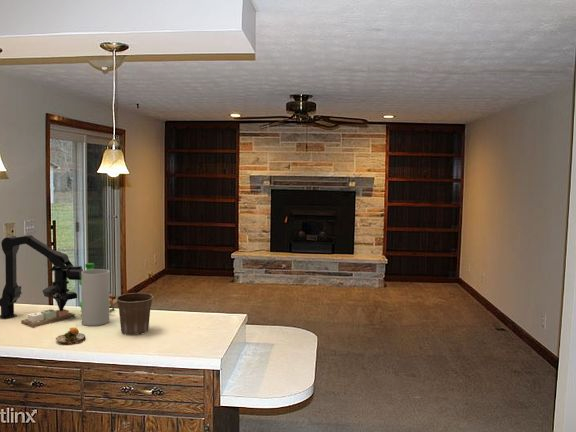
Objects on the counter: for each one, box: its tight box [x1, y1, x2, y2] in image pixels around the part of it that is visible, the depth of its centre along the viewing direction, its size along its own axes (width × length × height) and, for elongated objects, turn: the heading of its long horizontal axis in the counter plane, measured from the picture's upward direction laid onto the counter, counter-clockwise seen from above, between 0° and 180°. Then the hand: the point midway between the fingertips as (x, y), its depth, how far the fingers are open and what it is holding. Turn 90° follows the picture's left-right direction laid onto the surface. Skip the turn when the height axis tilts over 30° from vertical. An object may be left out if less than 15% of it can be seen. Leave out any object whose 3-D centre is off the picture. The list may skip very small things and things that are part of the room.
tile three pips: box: [55, 308, 70, 317], centre depth 247 cm, size 5×5×3 cm
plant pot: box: [115, 292, 154, 336], centre depth 229 cm, size 16×16×16 cm
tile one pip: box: [27, 311, 44, 323], centre depth 236 cm, size 5×5×3 cm
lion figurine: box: [109, 297, 115, 311], centre depth 258 cm, size 15×5×9 cm, turn 9°
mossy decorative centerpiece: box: [55, 324, 86, 346], centre depth 214 cm, size 12×12×8 cm
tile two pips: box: [40, 308, 57, 320], centre depth 242 cm, size 5×5×3 cm
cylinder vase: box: [80, 268, 110, 327], centre depth 240 cm, size 12×12×25 cm
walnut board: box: [20, 312, 76, 329], centre depth 242 cm, size 10×21×2 cm, turn 146°
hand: (61, 310), depth 247 cm, fingers closed, pressing on tile three pips
